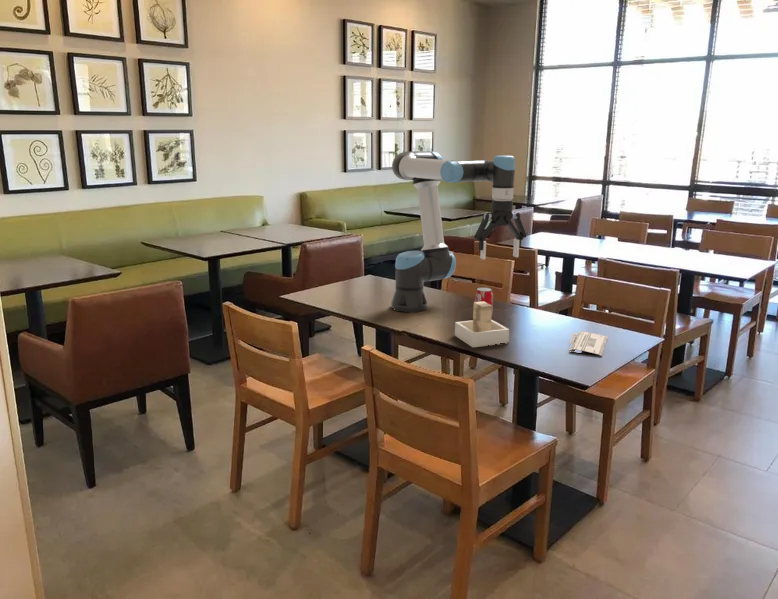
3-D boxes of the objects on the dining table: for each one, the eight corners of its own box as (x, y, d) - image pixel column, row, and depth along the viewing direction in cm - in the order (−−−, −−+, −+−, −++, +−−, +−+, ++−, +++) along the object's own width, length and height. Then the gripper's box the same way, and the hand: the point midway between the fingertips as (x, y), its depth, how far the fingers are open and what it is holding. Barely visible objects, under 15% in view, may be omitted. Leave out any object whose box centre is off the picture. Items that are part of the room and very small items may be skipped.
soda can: (491, 321, 243) (493, 291, 240) (473, 320, 244) (474, 290, 241) (492, 316, 250) (493, 287, 247) (474, 315, 251) (475, 286, 248)
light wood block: (472, 334, 224) (473, 302, 220) (482, 333, 225) (483, 301, 222) (480, 339, 218) (481, 306, 215) (490, 338, 219) (492, 305, 216)
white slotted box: (454, 335, 226) (455, 322, 225) (489, 331, 230) (489, 318, 229) (472, 347, 213) (473, 333, 212) (508, 343, 218) (509, 329, 216)
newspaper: (572, 335, 228) (573, 328, 228) (606, 343, 224) (608, 336, 223) (562, 354, 208) (564, 347, 208) (600, 362, 204) (602, 355, 203)
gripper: (475, 201, 217) (473, 261, 222) (538, 199, 225) (534, 257, 230) (466, 199, 224) (464, 257, 229) (527, 197, 231) (523, 254, 237)
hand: (499, 257), depth 230 cm, fingers open, 13 cm apart
